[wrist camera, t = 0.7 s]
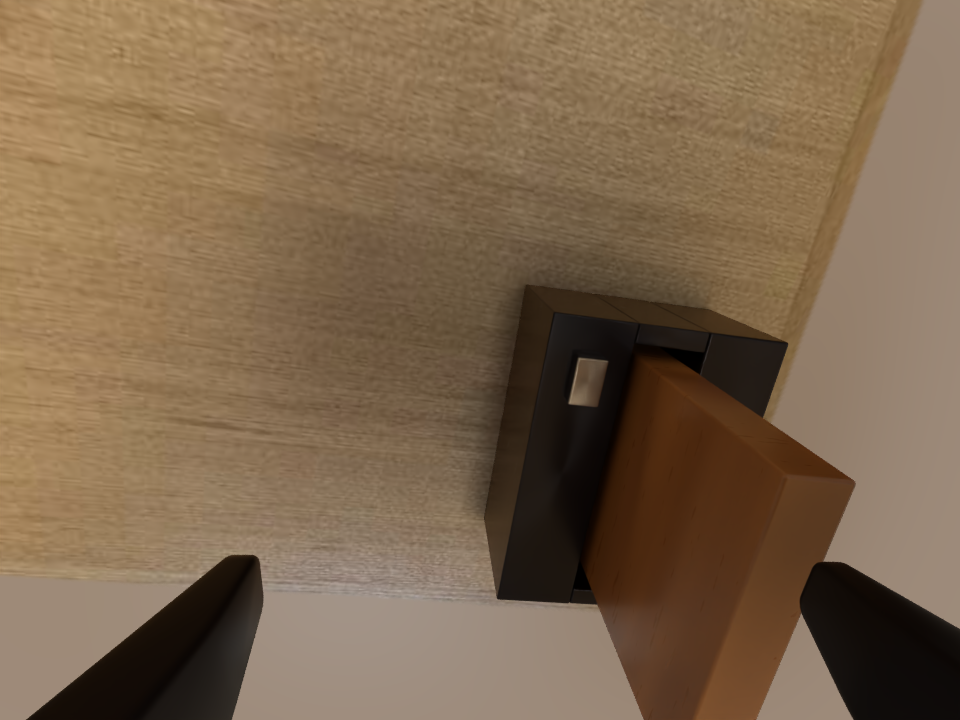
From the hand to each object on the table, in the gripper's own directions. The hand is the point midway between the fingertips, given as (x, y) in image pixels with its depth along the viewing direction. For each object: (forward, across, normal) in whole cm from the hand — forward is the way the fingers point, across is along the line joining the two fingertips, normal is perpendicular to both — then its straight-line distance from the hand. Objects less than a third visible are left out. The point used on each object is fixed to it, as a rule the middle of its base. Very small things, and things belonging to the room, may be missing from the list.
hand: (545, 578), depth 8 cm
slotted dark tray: (+13, -5, +4) cm, 15 cm away
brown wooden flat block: (+11, -5, +4) cm, 13 cm away
